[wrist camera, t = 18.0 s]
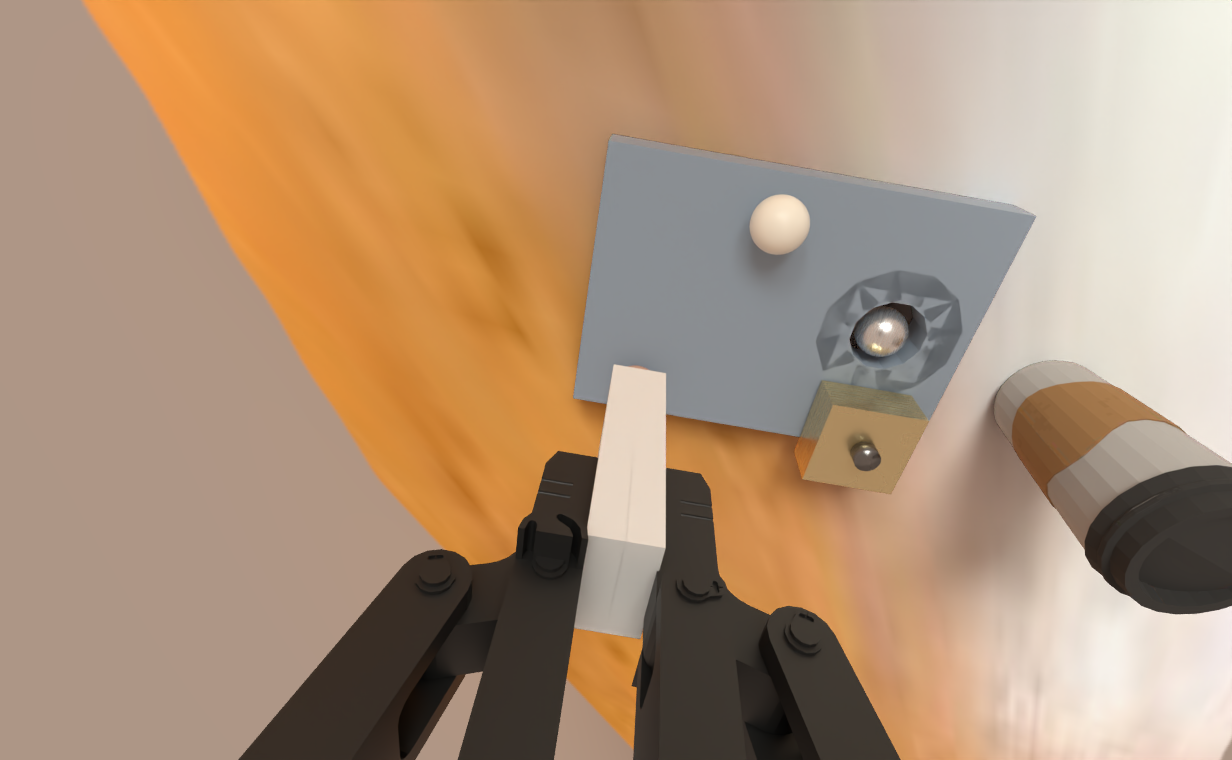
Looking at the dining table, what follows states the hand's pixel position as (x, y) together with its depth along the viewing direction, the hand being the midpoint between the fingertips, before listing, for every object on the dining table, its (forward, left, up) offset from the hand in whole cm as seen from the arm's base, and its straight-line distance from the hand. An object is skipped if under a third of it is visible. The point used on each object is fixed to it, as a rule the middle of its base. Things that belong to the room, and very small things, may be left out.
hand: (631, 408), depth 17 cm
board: (+4, +9, -22) cm, 25 cm away
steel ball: (+5, +16, -21) cm, 27 cm away
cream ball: (-2, +7, -18) cm, 20 cm away
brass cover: (+11, +16, -20) cm, 28 cm away
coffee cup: (+8, +29, -23) cm, 38 cm away
